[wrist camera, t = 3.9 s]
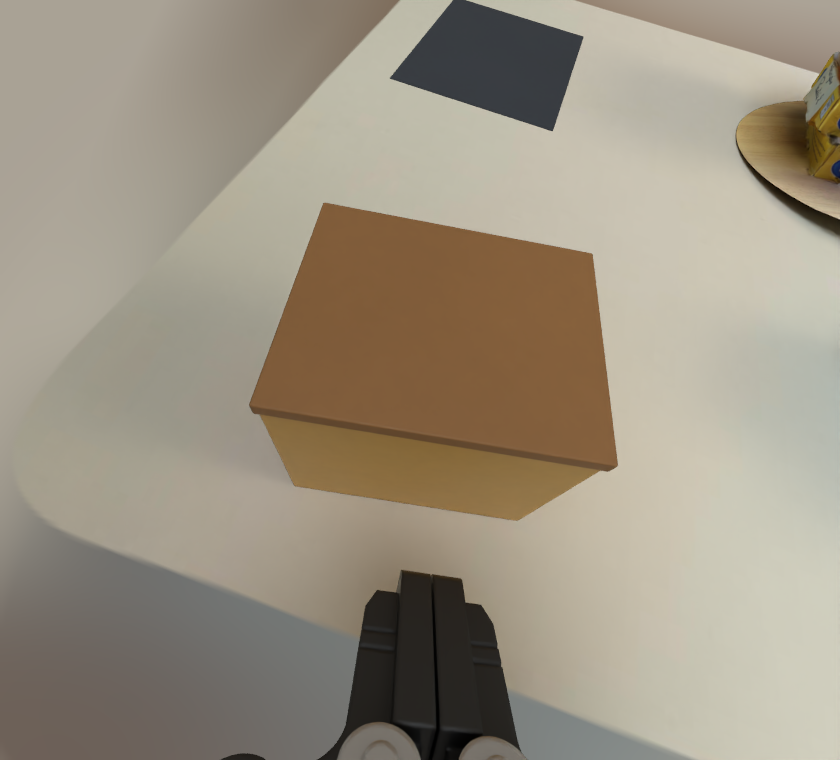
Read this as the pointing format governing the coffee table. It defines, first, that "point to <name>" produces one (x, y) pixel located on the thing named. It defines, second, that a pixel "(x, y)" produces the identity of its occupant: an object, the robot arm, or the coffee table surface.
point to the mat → (494, 62)
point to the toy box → (438, 367)
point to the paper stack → (800, 142)
